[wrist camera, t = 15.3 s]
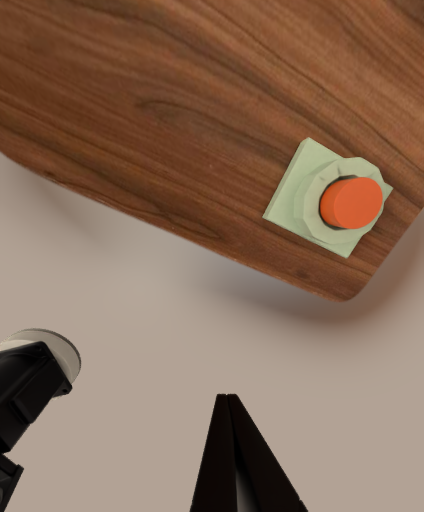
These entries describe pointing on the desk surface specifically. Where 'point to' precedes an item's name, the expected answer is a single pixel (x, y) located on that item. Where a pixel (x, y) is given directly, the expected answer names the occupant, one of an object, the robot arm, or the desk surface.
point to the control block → (319, 196)
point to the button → (351, 202)
